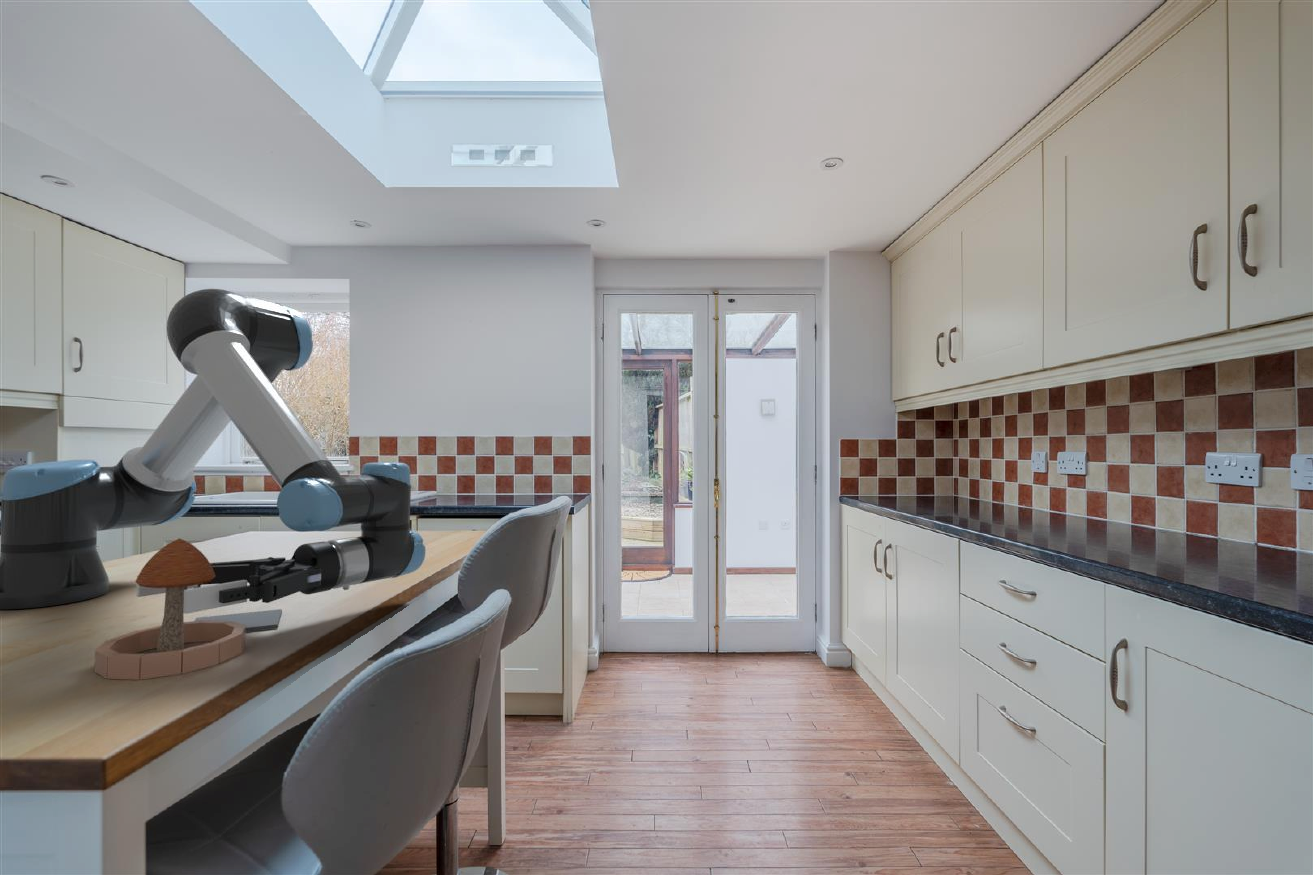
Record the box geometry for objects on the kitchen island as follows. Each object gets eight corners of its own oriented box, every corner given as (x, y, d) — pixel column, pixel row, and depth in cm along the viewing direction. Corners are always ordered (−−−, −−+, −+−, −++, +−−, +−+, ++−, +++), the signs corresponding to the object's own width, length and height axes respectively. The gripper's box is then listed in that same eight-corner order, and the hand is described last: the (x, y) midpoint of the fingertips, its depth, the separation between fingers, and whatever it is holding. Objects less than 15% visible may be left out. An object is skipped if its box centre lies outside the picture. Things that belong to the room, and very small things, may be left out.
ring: (118, 648, 79) (118, 629, 79) (249, 632, 86) (250, 615, 86) (78, 687, 66) (78, 665, 67) (236, 666, 73) (236, 645, 73)
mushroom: (224, 654, 77) (227, 537, 77) (146, 673, 71) (149, 545, 71) (199, 642, 82) (202, 531, 82) (124, 659, 75) (126, 539, 75)
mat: (196, 621, 91) (196, 617, 91) (281, 612, 96) (282, 609, 96) (183, 639, 83) (183, 634, 83) (277, 628, 88) (277, 624, 88)
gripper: (378, 601, 86) (206, 642, 68) (284, 579, 99) (120, 608, 81) (378, 549, 86) (208, 576, 68) (285, 533, 99) (121, 552, 81)
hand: (159, 593), depth 75 cm, fingers open, 13 cm apart
